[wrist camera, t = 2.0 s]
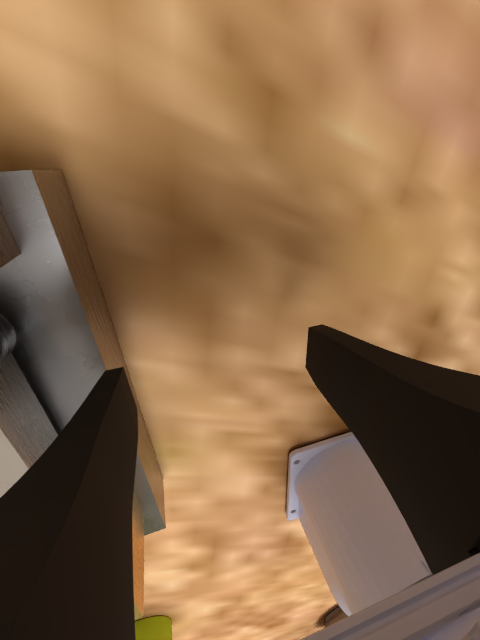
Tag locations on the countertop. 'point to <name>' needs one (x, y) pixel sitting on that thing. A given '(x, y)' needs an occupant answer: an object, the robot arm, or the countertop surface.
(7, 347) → the steel lever
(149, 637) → the soap dispenser
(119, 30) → the countertop surface
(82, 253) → the grey piece
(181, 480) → the countertop surface
